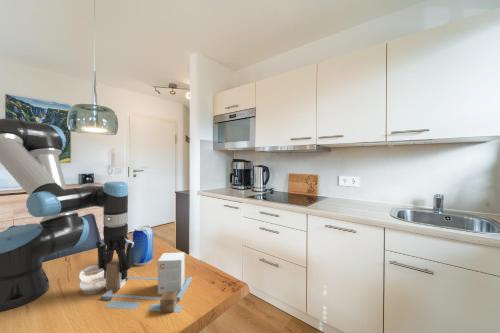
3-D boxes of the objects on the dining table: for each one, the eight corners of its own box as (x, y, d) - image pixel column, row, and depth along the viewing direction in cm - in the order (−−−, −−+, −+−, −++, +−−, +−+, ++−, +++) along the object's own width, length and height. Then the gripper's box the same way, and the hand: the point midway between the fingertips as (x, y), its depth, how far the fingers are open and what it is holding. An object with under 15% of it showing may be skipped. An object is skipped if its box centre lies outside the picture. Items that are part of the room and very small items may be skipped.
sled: (97, 299, 70) (97, 270, 70) (121, 278, 82) (121, 254, 82) (179, 304, 69) (180, 274, 68) (192, 282, 81) (192, 257, 80)
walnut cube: (160, 312, 63) (160, 300, 63) (163, 303, 67) (164, 291, 67) (173, 312, 64) (173, 299, 63) (176, 303, 68) (176, 291, 67)
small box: (184, 285, 79) (185, 251, 79) (181, 296, 73) (181, 259, 72) (162, 286, 78) (162, 252, 78) (157, 297, 72) (157, 260, 71)
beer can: (127, 265, 93) (128, 229, 93) (141, 256, 101) (142, 224, 101) (143, 267, 91) (144, 231, 91) (156, 259, 99) (156, 226, 99)
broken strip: (104, 310, 65) (104, 307, 65) (111, 304, 68) (111, 300, 68) (179, 315, 64) (179, 312, 64) (182, 309, 67) (182, 305, 67)
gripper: (84, 226, 72) (84, 292, 73) (132, 228, 71) (131, 295, 72) (101, 220, 80) (101, 279, 80) (144, 222, 79) (143, 282, 79)
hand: (115, 286), depth 76 cm, fingers closed on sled, 4 cm apart
